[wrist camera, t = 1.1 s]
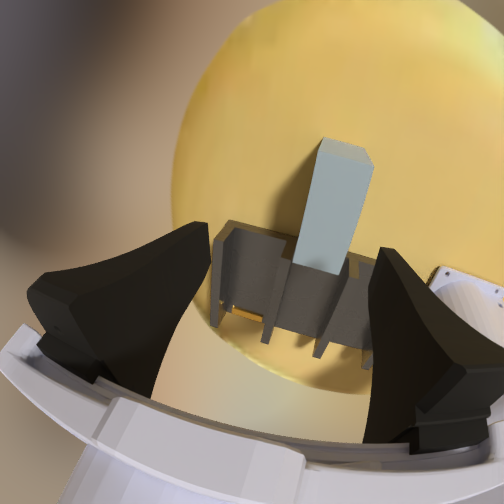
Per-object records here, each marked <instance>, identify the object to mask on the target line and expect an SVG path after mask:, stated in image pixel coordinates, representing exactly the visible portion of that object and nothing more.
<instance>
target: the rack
mask: <svg viewBox="0 0 504 504" xmlns="http://www.w3.org/2000/svg"><path fill="white" fill-rule="evenodd" d="M297 242H298V237H294V236H290V235H286V234H283V233H279V232H275V231H271V230H268V229H264V228H260V227H256V226H252V225H248V224H244V223H240V222H237V221H233V220H228V222H227V223H226V224H225V227H224V228H223V229H222V230H221V231H220V232H219V233H218V235H217V236H216V237H215V238H214V243H213V261H212V284H211V312H210V326H213V327H216V328H218V327H219V325H220V323H221V321H222V319H223V317H224V316H225V314H226V312H230V313H232V314H236V315H239V316H242V317H245V318H248V319H251V320H255V321H258V322H262V323H265V326H264V330H263V334H262V338H261V342H262V343H265V344H269V341H270V339H271V336H272V333H273V330H274V327H278V328H282V329H285V330H289V331H292V332H296V333H299V334H303V335H307V336H310V337H314V338H316V340H315V345H314V350H313V356H312V357H315V358H319V359H320V358H321V356H322V354H323V353H324V351H325V349H326V347H327V345H328V343H329V341H330V342H333V343H337V344H342V345H346V346H350V347H354V348H358V349H362V366H361V368H362V369H367V370H369V369H370V367H371V366H372V365H373V347H372V337H371V328H370V319H369V310H368V285H369V282H370V279H371V276H372V272H373V269H374V266H375V263H376V259H372V258H369V257H365V256H362V255H358V254H355V253H351V252H347V254H346V257H345V260H344V262H343V265H342V268H341V270H340V273H339V275H336V274H332V273H329V272H325V271H321V270H318V269H314V268H311V267H307V266H303V265H300V264H296V263H293V258H294V254H295V250H296V246H297Z"/></svg>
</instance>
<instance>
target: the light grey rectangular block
mask: <svg viewBox="0 0 504 504" xmlns="http://www.w3.org/2000/svg"><path fill="white" fill-rule="evenodd" d="M373 170H374V165H373V163H372V161H371V159H370V158H369V156H368V154H367V152H366V150H365V149H364V148H362V147H359V146H355V145H352V144H348V143H345V142H341V141H337V140H334V139H330V138H326V137H324V138H323V140H322V143H321V145H320V147H319V150H318V154H317V158H316V163H315V168H314V172H313V177H312V182H311V186H310V191H309V195H308V200H307V204H306V208H305V213H304V217H303V221H302V225H301V229H300V234H299V238H298V242H297V246H296V250H295V254H294V258H293V263H296V264H300V265H303V266H307V267H311V268H314V269H318V270H321V271H325V272H329V273H332V274H336V275H339V273H340V270H341V268H342V265H343V262H344V260H345V257H346V254H347V252H348V249H349V246H350V243H351V240H352V237H353V234H354V231H355V229H356V226H357V223H358V219H359V216H360V213H361V210H362V207H363V204H364V201H365V197H366V194H367V191H368V187H369V184H370V180H371V177H372V173H373Z"/></svg>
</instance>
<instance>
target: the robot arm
mask: <svg viewBox="0 0 504 504" xmlns="http://www.w3.org/2000/svg"><path fill="white" fill-rule="evenodd" d="M210 264H211V255H210V244H209V232H208V223H205V222H197V221H194V222H191V223H189V224H186V225H184V226H182V227H180V228H178V229H176V230H174V231H172V232H170V233H168V234H166V235H164V236H162V237H160V238H158V239H156V240H154V241H152V242H150V243H148V244H146V245H144V246H142V247H139V248H137V249H135V250H132V251H130V252H128V253H125V254H122V255H120V256H117V257H114V258H111V259H108V260H104V261H101V262H98V263H95V264H91V265H87V266H83V267H78V268H73V269H68V270H61V271H54V272H46V273H44V274H43V275H41V276H40V277H39V278H38V279H37V281H35V282H34V283H33V284H32V285H31V286H30V287H29V288H28V290H27V299H28V302H29V304H30V306H31V308H32V310H33V312H34V313H35V315H36V316H37V318H38V320H39V321H40V323H41V325H42V326H43V328H44V329H45V331H46V333H45V334H44V335H43V337H42V336H41V335H40V334H39V333H38V332H37V331H36V330H34V329H33V328H31V327H30V326H28V325H27V324H25V323H23V325H22V326H21V327H20V328H19V329H18V330H17V332H16V333H15V334H14V335H13V336H12V338H11V339H10V340H9V341H8V343H7V344H6V345H5V346H4V348H3V349H2V350H1V352H0V371H1V372H2V373H3V374H4V375H5V376H6V378H8V380H9V381H10V382H11V383H13V385H14V386H15V387H16V388H18V390H19V391H20V392H21V393H22V394H24V395H25V396H26V397H27V398H28V399H29V400H30V401H31V402H33V403H34V404H35V405H36V406H37V407H38V408H39V409H41V410H42V411H43V412H44V413H45V414H47V415H48V416H49V417H50V418H52V419H53V420H54V421H55V422H57V423H58V424H59V425H61V426H62V427H63V428H65V429H66V430H68V431H69V432H70V433H72V434H73V435H75V436H76V437H77V438H79V439H80V440H82V441H83V442H85V443H86V444H87V446H86V448H85V449H84V451H83V453H82V455H81V457H80V459H79V461H78V463H77V465H76V466H75V469H74V470H73V472H72V474H71V476H70V478H69V480H68V482H67V484H66V486H65V488H64V490H63V493H62V494H61V496H60V499H59V500H58V502H57V504H504V302H503V300H502V298H503V296H504V287H501V286H499V285H496V284H493V283H491V282H488V281H485V280H483V279H480V278H477V277H474V276H472V275H469V274H466V273H463V272H460V271H457V270H455V269H452V268H449V267H446V266H441V267H439V268H438V270H437V272H436V274H435V276H434V277H433V279H432V281H431V283H430V285H429V286H427V285H426V284H425V283H424V282H423V281H422V279H421V278H420V277H419V276H418V275H417V274H416V273H415V271H414V270H413V269H412V268H411V267H410V266H409V265H408V263H407V262H406V261H405V260H404V259H403V258H402V257H401V255H400V254H399V253H398V252H397V251H396V250H395V249H391V248H385V247H380V250H379V253H378V256H377V260H376V263H375V266H374V269H373V272H372V276H371V279H370V282H369V285H368V310H369V319H370V328H371V337H372V347H373V374H372V387H371V397H370V406H369V412H368V418H367V424H366V429H365V433H364V438H363V442H362V444H358V443H357V444H356V443H339V442H325V441H315V440H306V439H299V438H292V437H286V436H279V435H274V434H268V433H262V432H258V431H253V430H249V429H244V428H240V427H236V426H232V425H228V424H223V423H220V422H217V421H213V420H209V419H206V418H203V417H199V416H196V415H193V414H190V413H187V412H184V411H181V410H178V409H175V408H172V407H170V406H167V405H164V404H162V403H159V402H156V401H154V400H151V399H150V398H151V395H152V391H153V387H154V384H155V381H156V378H157V375H158V372H159V369H160V366H161V363H162V360H163V358H164V355H165V353H166V350H167V347H168V345H169V342H170V340H171V338H172V336H173V333H174V331H175V329H176V326H177V324H178V323H179V321H180V319H181V317H182V315H183V314H184V312H185V310H186V309H187V307H188V305H189V304H190V302H191V301H192V299H193V297H194V296H195V294H196V292H197V291H198V289H199V287H200V286H201V284H202V282H203V280H204V278H205V276H206V274H207V271H208V269H209V266H210ZM446 272H448V274H445V273H446ZM495 290H496V291H495Z"/></svg>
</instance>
